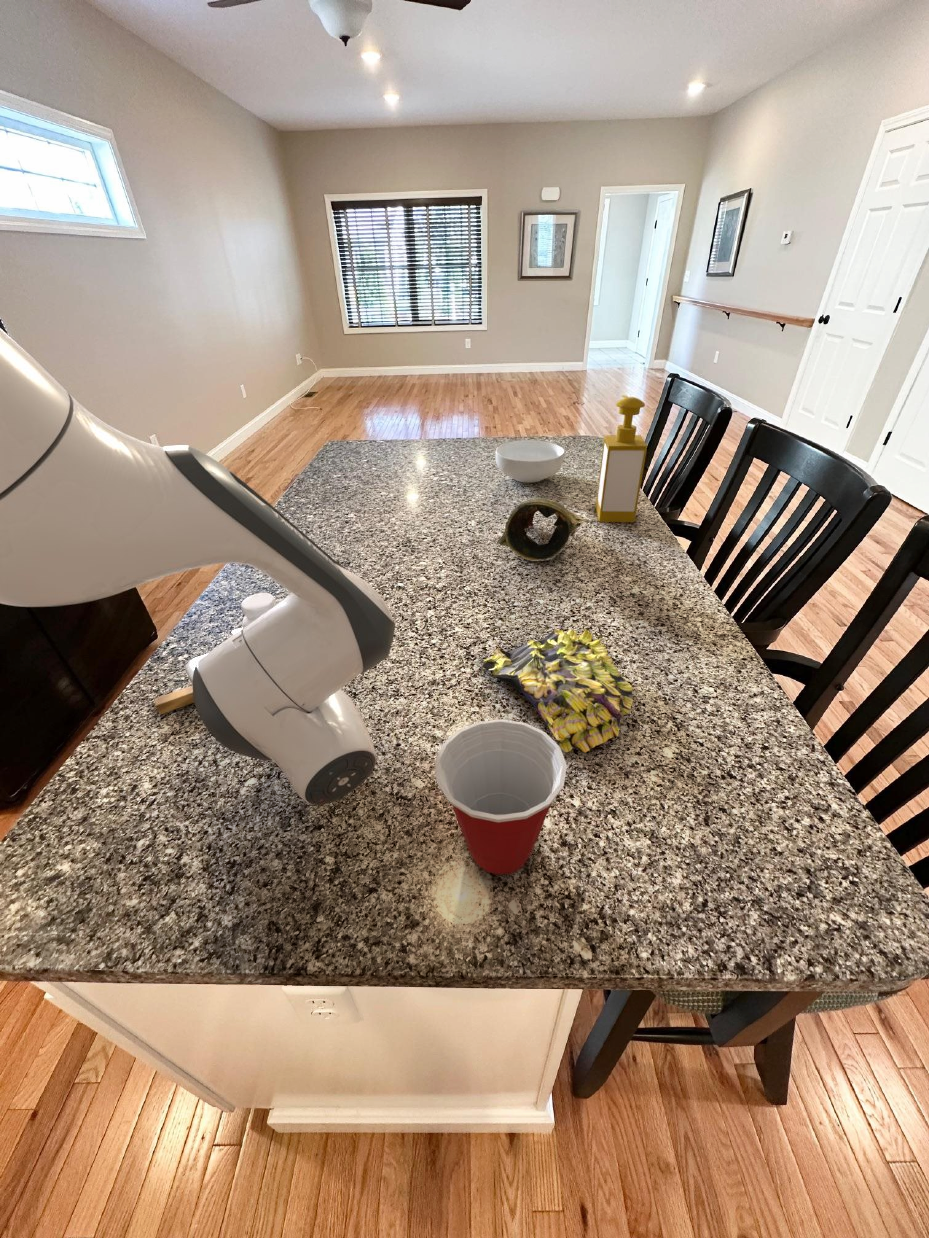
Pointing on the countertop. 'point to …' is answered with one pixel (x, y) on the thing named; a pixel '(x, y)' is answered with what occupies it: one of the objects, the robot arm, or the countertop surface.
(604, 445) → the soap bottle
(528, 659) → the banana patterned fabric
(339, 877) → the countertop surface
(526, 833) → the plastic cup
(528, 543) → the pot
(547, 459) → the cereal bowl
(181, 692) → the wooden bar
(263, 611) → the supplement bottle
